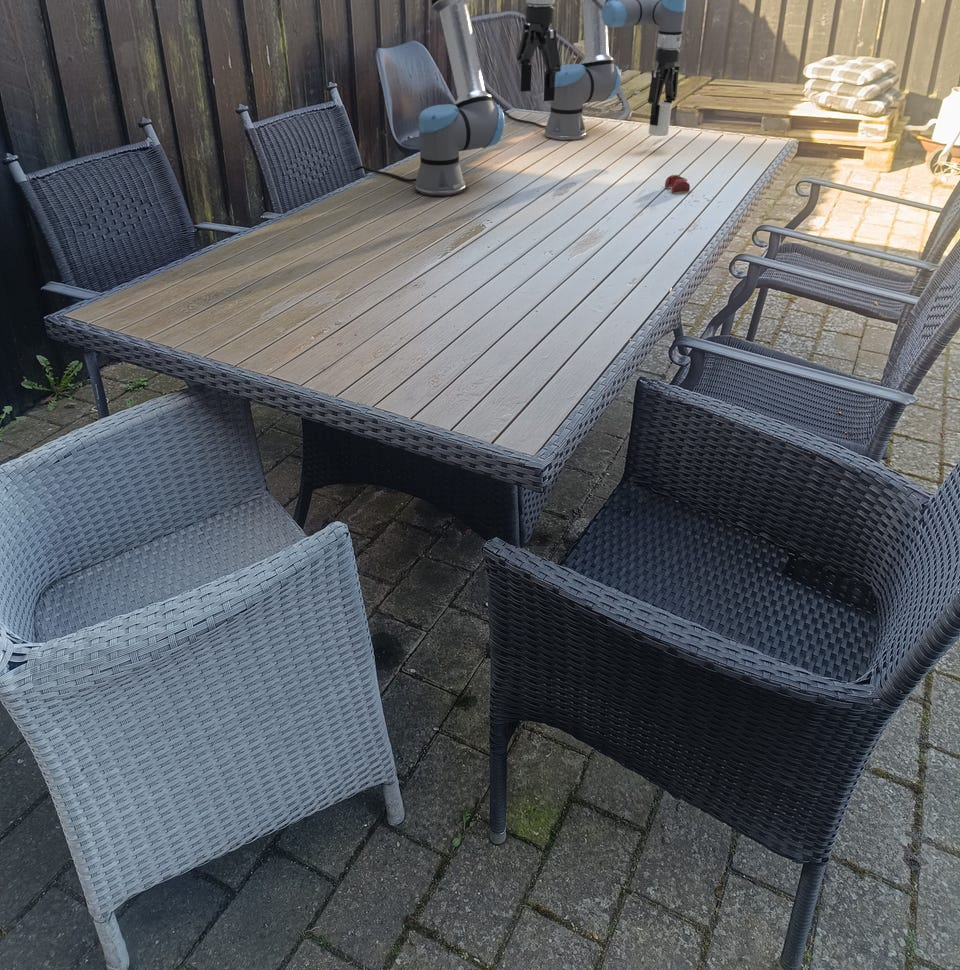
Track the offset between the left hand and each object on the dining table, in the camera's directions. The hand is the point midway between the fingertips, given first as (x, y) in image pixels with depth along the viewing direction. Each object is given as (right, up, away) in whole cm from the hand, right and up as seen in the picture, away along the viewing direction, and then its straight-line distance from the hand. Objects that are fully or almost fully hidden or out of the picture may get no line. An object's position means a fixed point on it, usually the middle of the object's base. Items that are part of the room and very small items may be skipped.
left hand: (537, 95), depth 226 cm
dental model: (+45, -14, +33) cm, 57 cm away
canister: (+46, +17, +64) cm, 81 cm away
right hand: (+46, +20, +62) cm, 80 cm away
